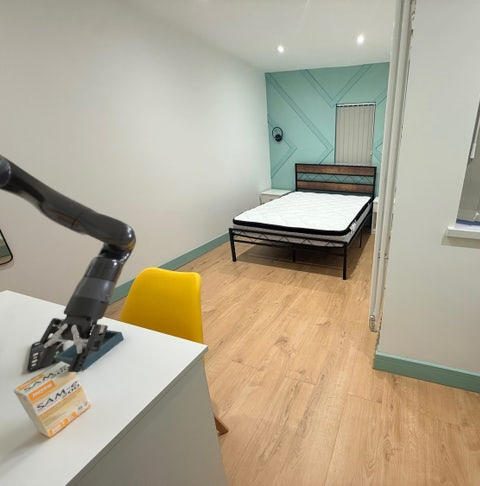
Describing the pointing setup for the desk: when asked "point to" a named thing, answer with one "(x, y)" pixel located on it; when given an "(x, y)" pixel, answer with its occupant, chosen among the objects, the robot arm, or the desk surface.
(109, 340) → the pad dock
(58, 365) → the supplement box
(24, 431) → the desk surface
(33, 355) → the smartphone
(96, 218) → the robot arm
